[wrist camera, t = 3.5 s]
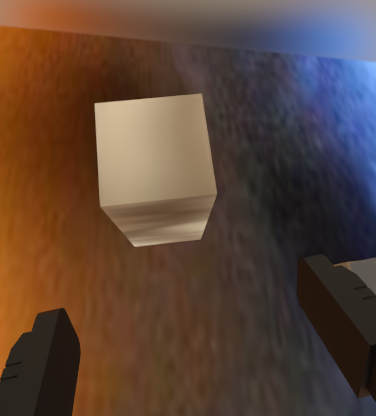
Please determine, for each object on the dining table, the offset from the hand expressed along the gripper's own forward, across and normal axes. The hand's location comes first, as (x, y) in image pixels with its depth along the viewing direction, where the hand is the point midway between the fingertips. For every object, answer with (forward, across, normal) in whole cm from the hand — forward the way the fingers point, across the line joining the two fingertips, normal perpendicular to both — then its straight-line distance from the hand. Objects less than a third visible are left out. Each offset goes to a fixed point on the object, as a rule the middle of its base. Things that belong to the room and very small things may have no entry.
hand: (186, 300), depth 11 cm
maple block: (+12, 0, +3) cm, 12 cm away
